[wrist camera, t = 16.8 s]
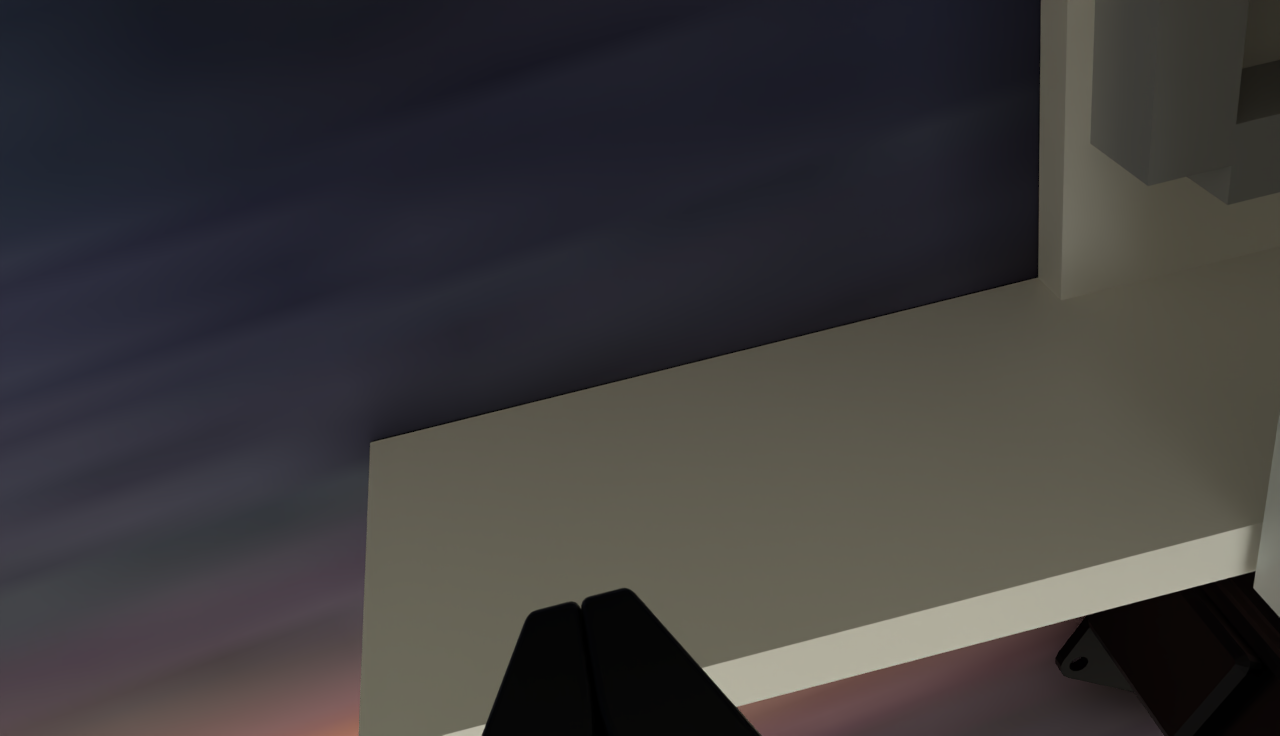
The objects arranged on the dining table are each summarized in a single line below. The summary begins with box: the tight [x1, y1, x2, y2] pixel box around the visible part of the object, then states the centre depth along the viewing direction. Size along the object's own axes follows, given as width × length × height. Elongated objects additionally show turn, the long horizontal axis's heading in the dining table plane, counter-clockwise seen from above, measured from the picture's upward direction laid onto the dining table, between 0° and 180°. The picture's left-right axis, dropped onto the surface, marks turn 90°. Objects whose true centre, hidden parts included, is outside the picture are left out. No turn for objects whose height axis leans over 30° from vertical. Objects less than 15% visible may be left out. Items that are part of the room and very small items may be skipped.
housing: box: [359, 0, 1280, 736], centre depth 17 cm, size 24×16×8 cm, turn 100°
